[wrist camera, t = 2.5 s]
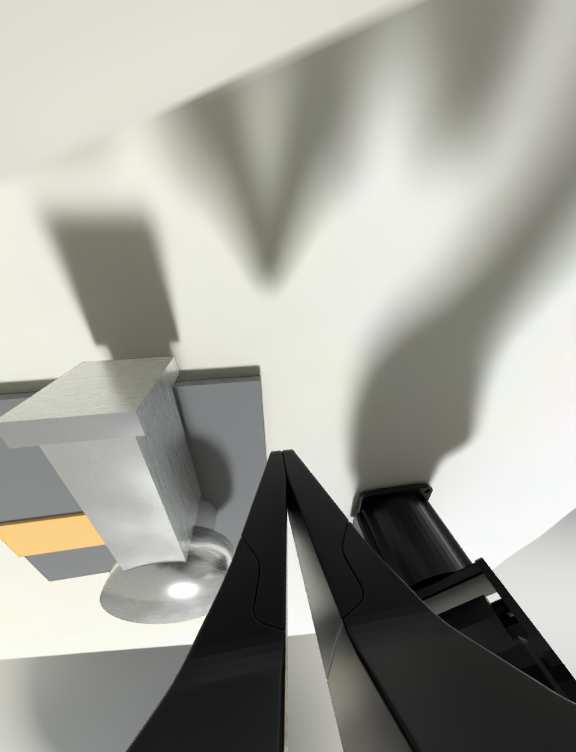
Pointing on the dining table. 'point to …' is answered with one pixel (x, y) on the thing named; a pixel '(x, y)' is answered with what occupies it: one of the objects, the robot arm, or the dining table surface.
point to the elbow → (130, 483)
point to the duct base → (210, 460)
